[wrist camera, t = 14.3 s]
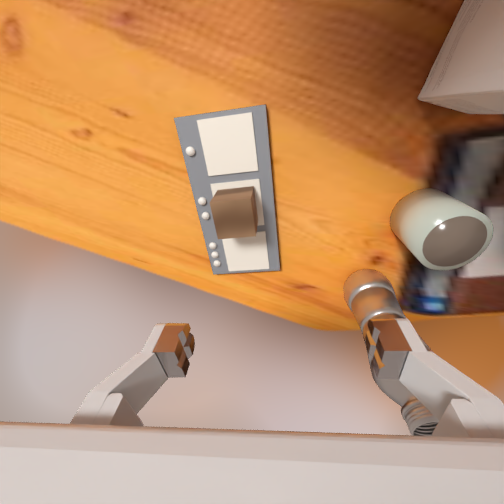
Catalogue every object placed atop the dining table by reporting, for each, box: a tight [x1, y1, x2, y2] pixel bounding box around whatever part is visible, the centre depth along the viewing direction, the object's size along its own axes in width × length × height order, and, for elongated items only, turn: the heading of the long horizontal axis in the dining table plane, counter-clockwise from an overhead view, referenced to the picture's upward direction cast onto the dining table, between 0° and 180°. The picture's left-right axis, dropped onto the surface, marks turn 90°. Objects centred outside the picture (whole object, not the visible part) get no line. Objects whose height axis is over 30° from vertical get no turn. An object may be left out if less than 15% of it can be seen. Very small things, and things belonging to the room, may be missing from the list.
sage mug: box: [390, 188, 493, 270], centre depth 29 cm, size 7×7×7 cm
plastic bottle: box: [343, 269, 439, 436], centre depth 29 cm, size 6×7×20 cm
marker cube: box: [210, 186, 258, 239], centre depth 30 cm, size 4×4×4 cm
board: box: [174, 105, 280, 274], centre depth 32 cm, size 21×10×1 cm, turn 7°
